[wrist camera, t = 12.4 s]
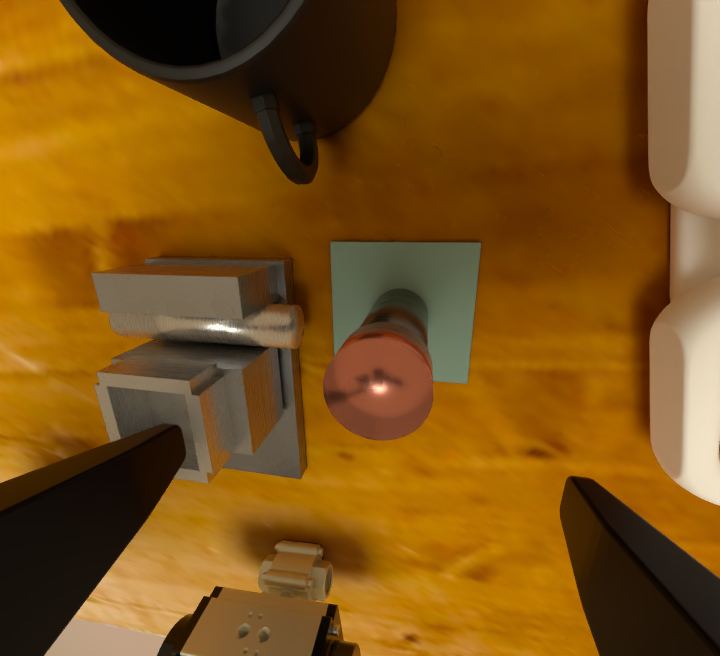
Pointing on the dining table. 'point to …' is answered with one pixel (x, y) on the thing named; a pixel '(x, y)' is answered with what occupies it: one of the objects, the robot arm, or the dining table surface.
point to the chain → (687, 239)
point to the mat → (422, 276)
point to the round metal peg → (384, 370)
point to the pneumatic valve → (268, 613)
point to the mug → (256, 60)
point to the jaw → (195, 398)
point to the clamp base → (220, 328)
